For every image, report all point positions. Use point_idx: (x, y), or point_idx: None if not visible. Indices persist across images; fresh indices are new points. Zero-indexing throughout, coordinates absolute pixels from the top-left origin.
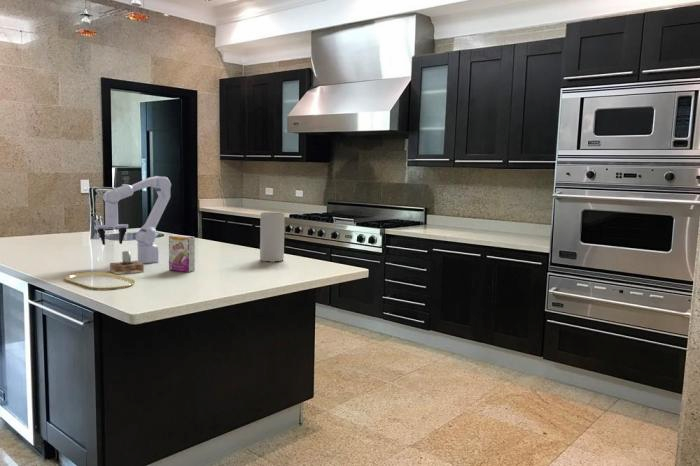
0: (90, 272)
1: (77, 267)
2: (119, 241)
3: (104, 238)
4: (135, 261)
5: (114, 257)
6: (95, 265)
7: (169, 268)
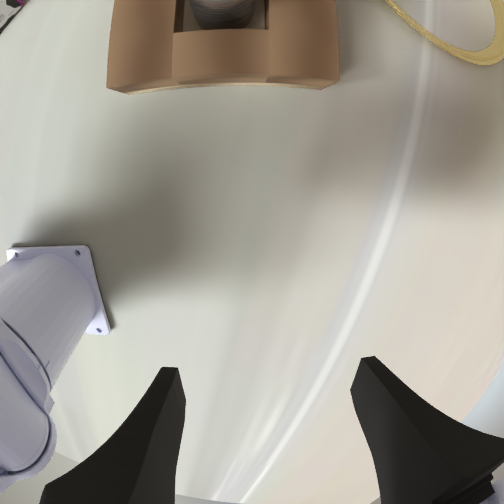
0: (442, 44)
1: (425, 285)
2: (182, 413)
3: (404, 405)
4: (124, 65)
5: (199, 436)
6: (340, 308)
7: (18, 1)
